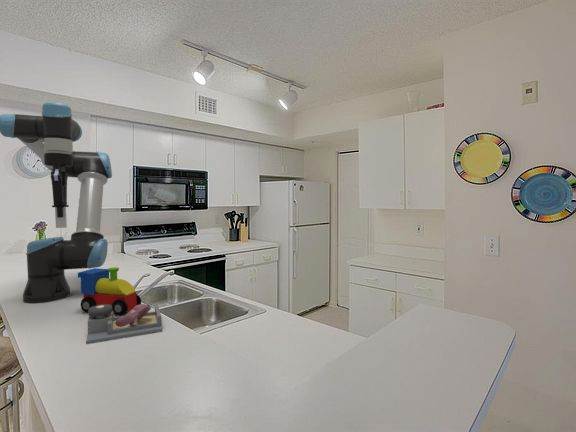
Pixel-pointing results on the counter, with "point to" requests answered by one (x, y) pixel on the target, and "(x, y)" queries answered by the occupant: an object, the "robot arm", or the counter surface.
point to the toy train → (107, 291)
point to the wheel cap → (100, 310)
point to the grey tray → (108, 330)
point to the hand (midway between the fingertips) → (61, 227)
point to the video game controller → (133, 315)
